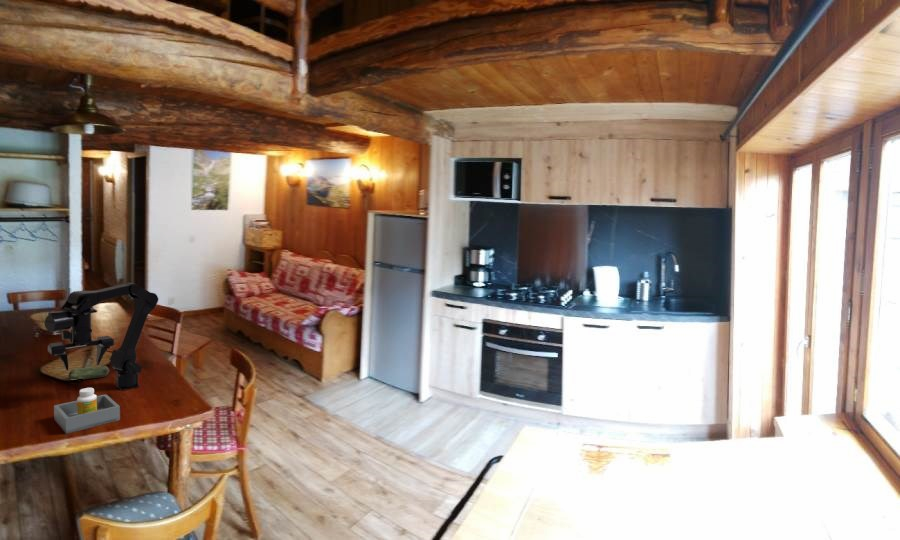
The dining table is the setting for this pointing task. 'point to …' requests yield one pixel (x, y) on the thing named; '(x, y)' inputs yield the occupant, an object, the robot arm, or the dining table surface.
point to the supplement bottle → (86, 401)
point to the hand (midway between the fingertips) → (82, 367)
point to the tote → (86, 415)
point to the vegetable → (89, 372)
